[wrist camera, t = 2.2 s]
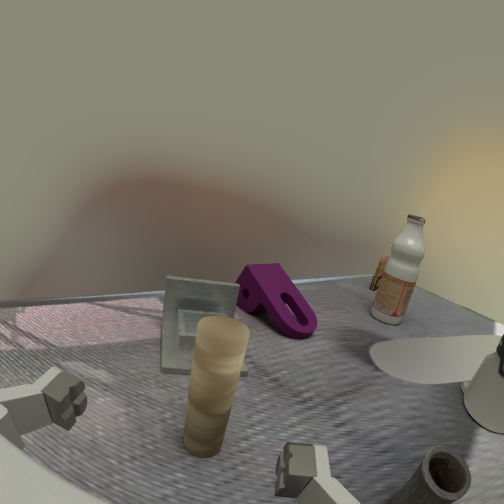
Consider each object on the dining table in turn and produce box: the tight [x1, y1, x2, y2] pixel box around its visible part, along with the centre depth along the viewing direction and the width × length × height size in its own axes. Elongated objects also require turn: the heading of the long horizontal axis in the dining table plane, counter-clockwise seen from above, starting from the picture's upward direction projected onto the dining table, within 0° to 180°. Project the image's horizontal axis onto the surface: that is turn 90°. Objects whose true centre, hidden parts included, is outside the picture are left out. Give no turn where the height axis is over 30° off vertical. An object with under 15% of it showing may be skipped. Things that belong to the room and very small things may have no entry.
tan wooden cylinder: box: [183, 316, 250, 458], centre depth 23 cm, size 4×4×15 cm
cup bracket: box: [161, 276, 248, 376], centre depth 42 cm, size 12×13×9 cm
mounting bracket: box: [236, 263, 317, 339], centre depth 59 cm, size 9×8×18 cm
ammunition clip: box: [369, 256, 389, 291], centre depth 96 cm, size 11×2×12 cm, turn 138°
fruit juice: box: [371, 214, 425, 325], centre depth 67 cm, size 9×9×28 cm
